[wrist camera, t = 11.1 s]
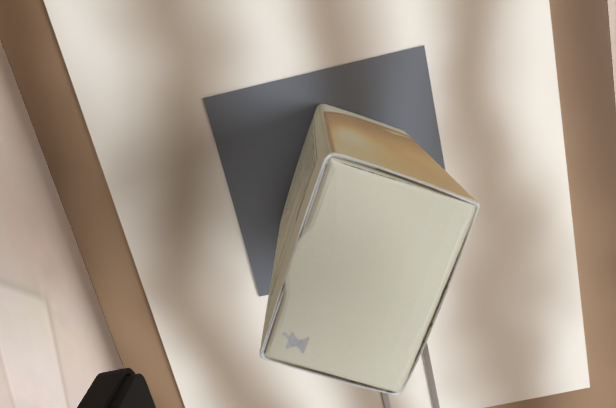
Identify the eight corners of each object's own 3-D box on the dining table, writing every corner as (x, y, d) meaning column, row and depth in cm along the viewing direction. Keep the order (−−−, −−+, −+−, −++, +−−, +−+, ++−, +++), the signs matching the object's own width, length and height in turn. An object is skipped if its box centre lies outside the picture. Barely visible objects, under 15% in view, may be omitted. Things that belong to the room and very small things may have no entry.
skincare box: (363, 250, 28) (400, 412, 16) (277, 224, 28) (251, 370, 16) (410, 124, 26) (491, 203, 14) (319, 94, 26) (325, 150, 14)
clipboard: (567, -316, 23) (602, -362, 20) (628, 408, 32) (657, 443, 30) (-53, -143, 24) (-98, -163, 22) (181, 493, 34) (170, 532, 31)
